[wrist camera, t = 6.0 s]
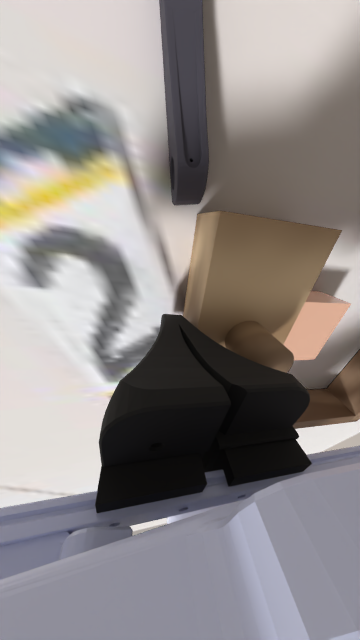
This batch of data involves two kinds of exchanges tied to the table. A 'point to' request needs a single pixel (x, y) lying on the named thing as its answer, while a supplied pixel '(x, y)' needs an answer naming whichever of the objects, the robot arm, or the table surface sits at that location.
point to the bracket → (185, 98)
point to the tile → (315, 325)
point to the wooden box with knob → (253, 281)
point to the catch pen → (335, 399)
